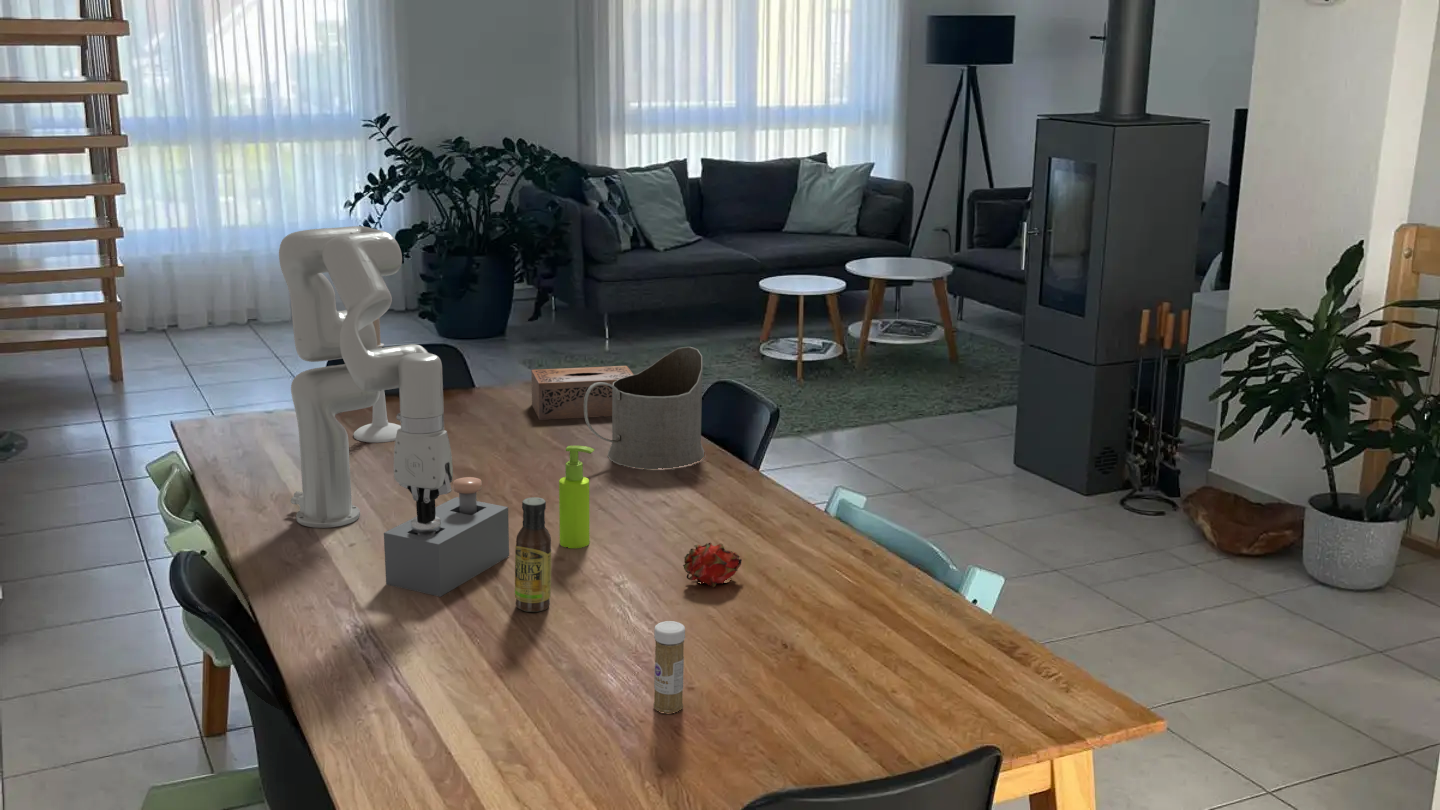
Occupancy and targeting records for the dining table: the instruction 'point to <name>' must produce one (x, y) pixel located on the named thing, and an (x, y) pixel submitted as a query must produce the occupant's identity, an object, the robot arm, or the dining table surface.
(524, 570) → the sauce bottle
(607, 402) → the tissue box cover
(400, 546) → the button box
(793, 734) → the dining table surface
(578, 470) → the soap dispenser
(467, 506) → the terracotta plunger
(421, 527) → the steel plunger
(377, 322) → the candlestick
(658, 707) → the sprinkles bottle
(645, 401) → the pitcher
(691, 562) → the dragon fruit
